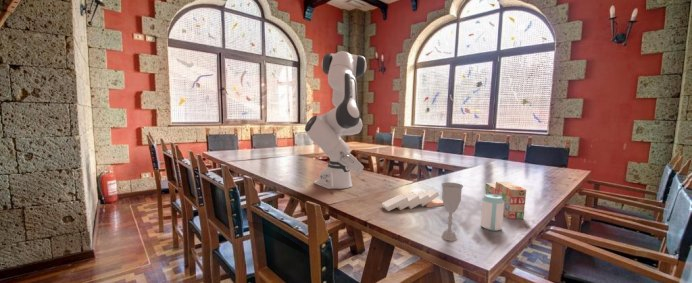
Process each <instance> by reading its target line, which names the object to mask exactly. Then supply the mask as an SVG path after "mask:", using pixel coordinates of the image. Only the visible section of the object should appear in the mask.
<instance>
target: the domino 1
mask: <svg viewBox="0 0 692 283" xmlns="http://www.w3.org/2000/svg"><path fill="white" fill-rule="evenodd" d="M406 202H408V198H407V197H406V194H404V193H400V194H397V195H396V196H394V197H392V198H390V199H387V200H385V201H384V202H382V203H381V205H382V207H383V209H384V210H386V211H387V212H390V211H392V210H394V209H396V208H397V207H398V206H400V205H402V204H404V203H406Z"/></svg>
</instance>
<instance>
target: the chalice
mask: <svg viewBox="0 0 692 283" xmlns="http://www.w3.org/2000/svg"><path fill="white" fill-rule="evenodd" d="M441 187H442V192H441V194H442V195H441V200H442V201H443V204H444V206H443V207H444V208H445V211H446V212H447V213H448V217H447V219H448V221H447V223H446V224H447V226H448V227H447V229H445V230H444V231H443V232H442V234H441V236H440V237H441V238H442V239H443V240H445V241H449V242H450V241H451V242H453V241H457V240H458V238H457V235H456V231H455V230H454V229H452V225H453V224H454V223H453V222H452V221H453V219H454V218H453V213H455V212H457V210H458V207H459V205H460V203H461V200H462V190H463V187H464V185H463V184H461V183H458V182H442V183H441Z"/></svg>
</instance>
